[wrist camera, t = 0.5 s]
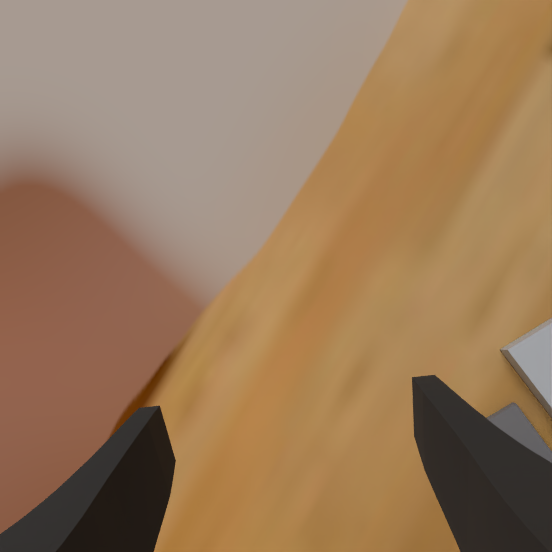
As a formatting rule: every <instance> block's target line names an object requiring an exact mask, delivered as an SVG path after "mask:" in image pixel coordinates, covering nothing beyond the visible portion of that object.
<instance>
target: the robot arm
mask: <svg viewBox="0 0 552 552" xmlns="http://www.w3.org/2000/svg"><path fill="white" fill-rule="evenodd" d="M412 387H413V415H414V437H415V440H416V443H417V447H418V450H419V453H420V457H421V460H422V463H423V466H424V469H425V472H426V474H427V476H428V479H429V481H430V483H431V486H432V488H433V490H434V492H435V495H436V497H437V499H438V502H439V504H440V506H441V508H442V511H443V513H444V515H445V517H446V520H447V522H448V524H449V526H450V529H451V531H452V533H453V535H454V538H455V540H456V542H457V544H458V547H459V549H460V551H461V552H552V463H551V462H550V461H548V460H546V459H545V458H543V457H541V456H540V455H538V454H536V453H535V452H533V451H531V450H530V449H528V448H527V447H525V446H524V445H522V444H521V443H519V442H518V441H516V440H515V439H514V438H512V437H511V436H509V435H508V434H506V433H505V432H504V431H502V430H501V429H500V428H498V427H497V426H495V425H494V424H493V423H492V422H490V421H489V420H488V419H487V418H485V417H484V416H483V415H481V414H480V413H479V412H478V411H476V410H475V409H474V408H473V407H472V406H470V405H469V404H468V403H467V402H466V401H464V400H463V399H462V398H461V397H460V396H458V395H457V394H456V393H455V392H454V391H453V390H452V389H450V388H449V387H448V386H447V385H446V384H445V383H444V382H442V381H441V380H440V379H439V378H438V377H436V376H435V375H429V376H420V377H412ZM175 462H176V460H175V457H174V453H173V450H172V446H171V443H170V440H169V436H168V433H167V429H166V426H165V422H164V419H163V415H162V412H161V409H160V406H153V407H144V408H139V409H138V410H137V411H136V412H135V413H134V414H133V415H132V416H131V417H130V418H129V419H128V420H127V421H126V422H125V423H124V424H123V425H122V426H121V427H120V428H119V429H118V430H117V431H116V432H115V433H114V434H113V435H112V436H111V437H110V438H109V439H108V441H107V442H106V443H105V444H104V445H103V446H102V447H101V448H100V449H99V450H98V451H97V452H96V453H95V454H94V455H93V456H92V457H91V458H90V459H89V460H88V461H87V462H86V463H85V464H84V465H83V466H82V467H80V468H79V469H78V470H77V471H76V472H75V473H74V474H73V475H72V476H71V477H70V478H69V479H68V480H67V481H66V482H65V483H63V484H62V486H60V487H59V488H58V489H57V490H56V491H55V492H54V493H52V494H51V495H50V496H49V497H48V498H47V499H45V500H44V501H43V502H42V503H40V504H39V505H38V506H37V507H36V508H34V509H33V510H32V511H31V512H29V513H28V514H27V515H26V516H24V517H23V518H22V519H20V520H19V521H18V522H16V523H15V524H14V525H12V526H11V527H9V528H8V529H7V530H5V531H4V532H3V533H1V534H0V552H154V548H155V545H156V542H157V538H158V535H159V532H160V528H161V525H162V522H163V518H164V515H165V511H166V508H167V504H168V501H169V497H170V493H171V487H172V481H173V475H174V468H175Z"/></svg>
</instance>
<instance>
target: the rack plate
mask: <svg viewBox="0 0 552 552" xmlns="http://www.w3.org/2000/svg"><path fill="white" fill-rule="evenodd" d="M500 350H501V352H502V353H503V354H504V356H505V357H506V358H507V360H508V361H509V362H510V364H511V365H512V366H513V368H514V369H515V370H516V372H517V373H518V374H519V376H520V377H521V378H522V379H523V381H524V382H525V383H526V385H527V386H528V387H529V389H530V390H531V391H532V393H533V394H534V395H535V397H536V398H537V399H538V401H539V402H540V403H541V405H542V406H543V407H544V409H545V410H546V411H547V413H548V414H549V415H550V417H551V418H552V318H551V319H549V320H547V321H546V322H544V323H542V324H541V325H539V326H538V327H536V328H534V329H533V330H531V331H529V332H528V333H526V334H524V335H523V336H521V337H520V338H518V339H516V340H515V341H513V342H511V343H510V344H508V345H506V346H505V347H503V348H502V349H500Z"/></svg>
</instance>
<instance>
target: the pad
mask: <svg viewBox="0 0 552 552" xmlns="http://www.w3.org/2000/svg"><path fill="white" fill-rule="evenodd" d="M487 419H488V420H489V421H490V422H492V423H493V424H494V425H495V426H497V427H498V428H500V429H501V430H502V431H504V432H505V433H506V434H508V435H509V436H511V437H512V438H514V439H515V440H516V441H518V442H519V443H521V444H522V445H524V446H525V447H527V448H528V449H530V450H531V451H533V452H535V453H536V454H538V455H540V456H541V457H543V458H545V459H546V460H548V461H550V462H551V463H552V452H551V450H550V449H549V447H548V446H547V445H546V443H545V442H544V441H543V439H542V438H541V437H540V435H539V434H538V433H537V431H536V430H535V429H534V427H533V426H532V424H531V423H530V422H529V420H528V419H527V418H526V416H525V415H524V414H523V412H522V411H521V410H520V408H519V407H518V406H517V404H515V403H513V402H512V403H511V404H509V405H507V406H506V407H504V408H502V409H501V410H499V411H497V412H496V413H494V414H492V415H490V416H489V417H487Z"/></svg>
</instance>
